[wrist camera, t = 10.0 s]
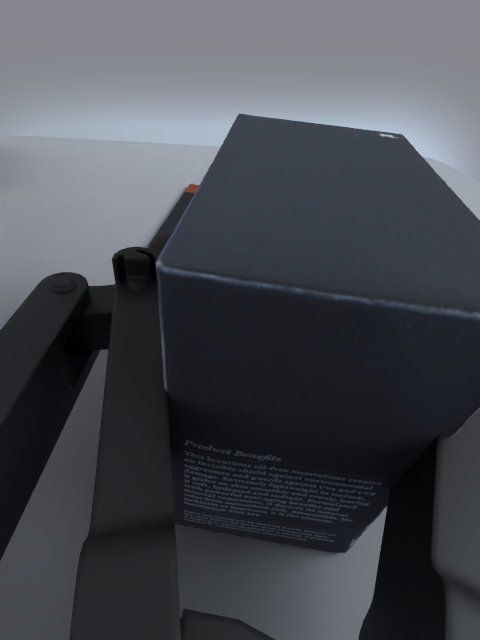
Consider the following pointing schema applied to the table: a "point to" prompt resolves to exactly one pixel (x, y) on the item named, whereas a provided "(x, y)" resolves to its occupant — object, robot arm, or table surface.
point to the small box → (314, 330)
